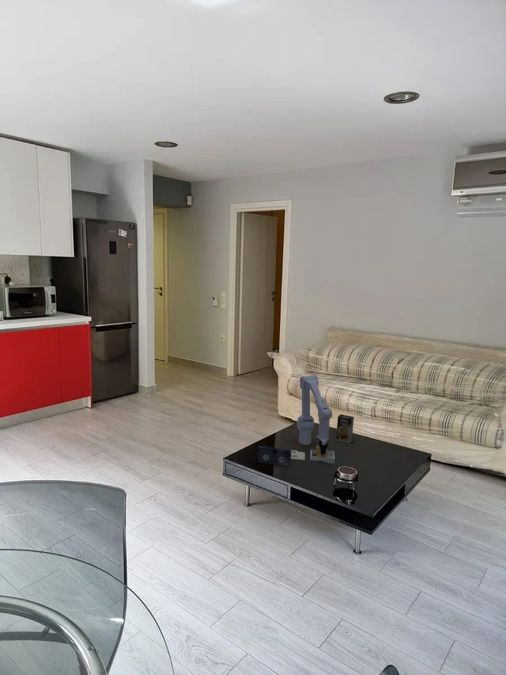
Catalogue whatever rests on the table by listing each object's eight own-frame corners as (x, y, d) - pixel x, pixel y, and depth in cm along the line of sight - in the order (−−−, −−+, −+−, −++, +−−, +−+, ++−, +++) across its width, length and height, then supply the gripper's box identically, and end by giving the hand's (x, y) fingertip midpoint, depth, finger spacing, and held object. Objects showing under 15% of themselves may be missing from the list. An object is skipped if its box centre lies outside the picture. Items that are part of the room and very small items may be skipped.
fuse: (315, 456, 262) (316, 445, 261) (326, 457, 262) (326, 445, 260) (316, 458, 259) (316, 447, 258) (326, 459, 259) (327, 448, 257)
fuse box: (274, 451, 268) (274, 447, 268) (304, 453, 266) (304, 449, 266) (273, 458, 258) (273, 454, 258) (304, 461, 257) (304, 457, 256)
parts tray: (310, 454, 266) (310, 449, 265) (333, 456, 265) (333, 451, 264) (310, 461, 256) (310, 456, 256) (334, 463, 255) (334, 458, 254)
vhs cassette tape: (290, 466, 250) (291, 449, 248) (289, 469, 247) (290, 451, 245) (258, 461, 254) (259, 445, 253) (257, 464, 252) (257, 447, 250)
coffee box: (335, 440, 287) (337, 416, 285) (338, 437, 293) (340, 413, 290) (349, 443, 283) (351, 419, 281) (352, 440, 289) (354, 416, 286)
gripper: (316, 424, 265) (315, 446, 267) (317, 433, 251) (315, 456, 253) (328, 425, 264) (327, 447, 266) (330, 434, 250) (328, 457, 252)
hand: (322, 451), depth 260 cm, fingers open, 7 cm apart
